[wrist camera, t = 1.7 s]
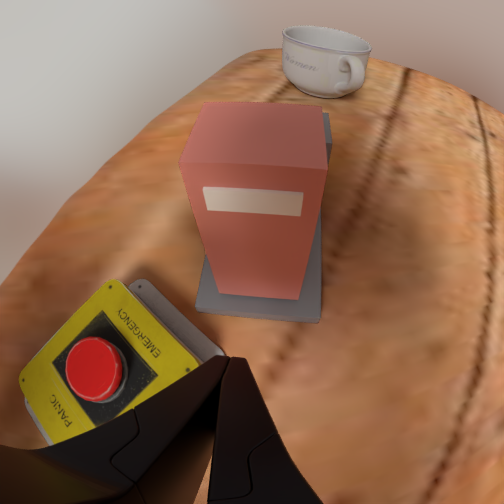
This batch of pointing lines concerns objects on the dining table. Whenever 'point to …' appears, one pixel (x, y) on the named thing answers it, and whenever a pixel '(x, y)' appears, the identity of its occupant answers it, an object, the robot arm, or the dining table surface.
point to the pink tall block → (256, 192)
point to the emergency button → (110, 359)
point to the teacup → (324, 60)
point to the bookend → (271, 308)
